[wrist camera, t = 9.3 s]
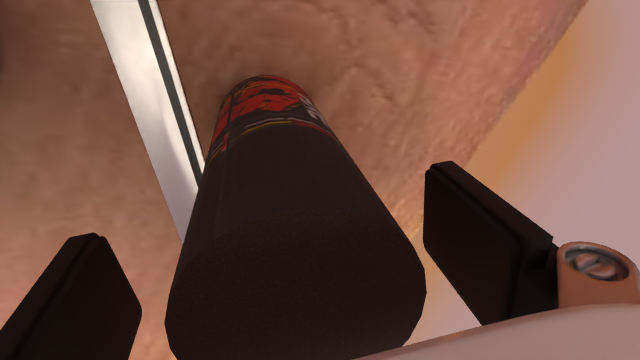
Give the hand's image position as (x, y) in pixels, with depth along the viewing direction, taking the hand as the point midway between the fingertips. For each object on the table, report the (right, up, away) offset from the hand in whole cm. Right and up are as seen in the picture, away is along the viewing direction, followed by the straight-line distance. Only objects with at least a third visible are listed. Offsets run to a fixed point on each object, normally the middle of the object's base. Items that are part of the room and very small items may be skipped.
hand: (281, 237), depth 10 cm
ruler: (-8, +6, +9) cm, 13 cm away
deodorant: (-2, +5, +11) cm, 12 cm away
